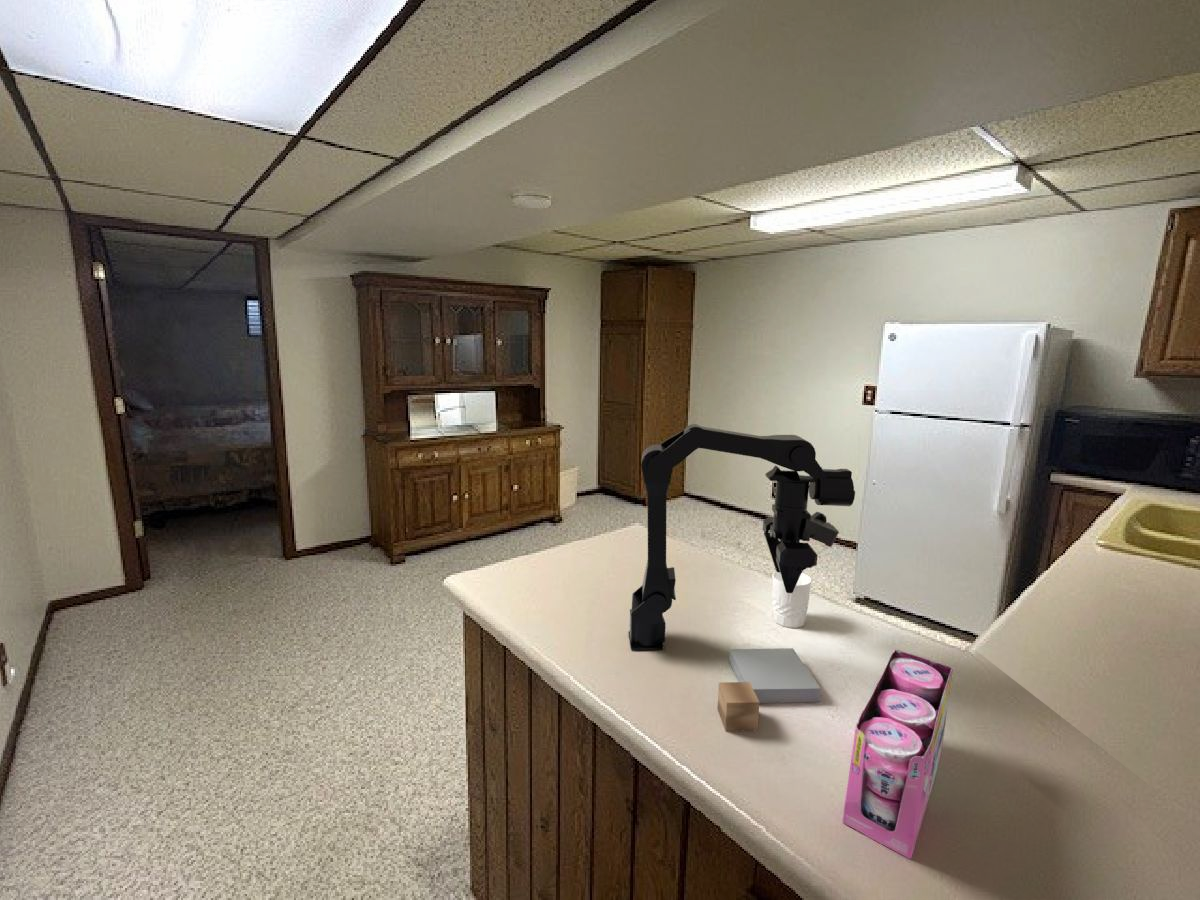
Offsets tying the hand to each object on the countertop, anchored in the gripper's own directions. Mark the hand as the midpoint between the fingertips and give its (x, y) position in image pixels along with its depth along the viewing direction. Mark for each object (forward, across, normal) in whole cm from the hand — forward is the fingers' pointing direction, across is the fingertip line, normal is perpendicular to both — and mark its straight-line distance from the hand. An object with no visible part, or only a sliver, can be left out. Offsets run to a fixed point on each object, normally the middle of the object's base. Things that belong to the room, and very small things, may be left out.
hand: (784, 582), depth 101 cm
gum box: (+14, -32, -9) cm, 36 cm away
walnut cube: (+14, -22, +10) cm, 28 cm away
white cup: (+14, +12, -4) cm, 19 cm away
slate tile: (+14, -11, +3) cm, 18 cm away
